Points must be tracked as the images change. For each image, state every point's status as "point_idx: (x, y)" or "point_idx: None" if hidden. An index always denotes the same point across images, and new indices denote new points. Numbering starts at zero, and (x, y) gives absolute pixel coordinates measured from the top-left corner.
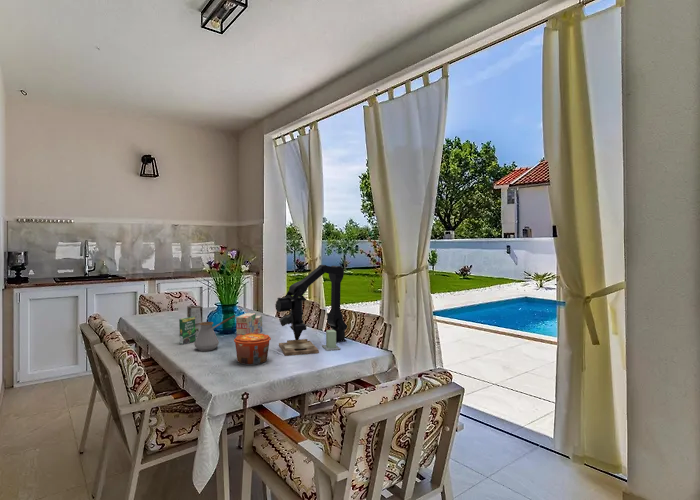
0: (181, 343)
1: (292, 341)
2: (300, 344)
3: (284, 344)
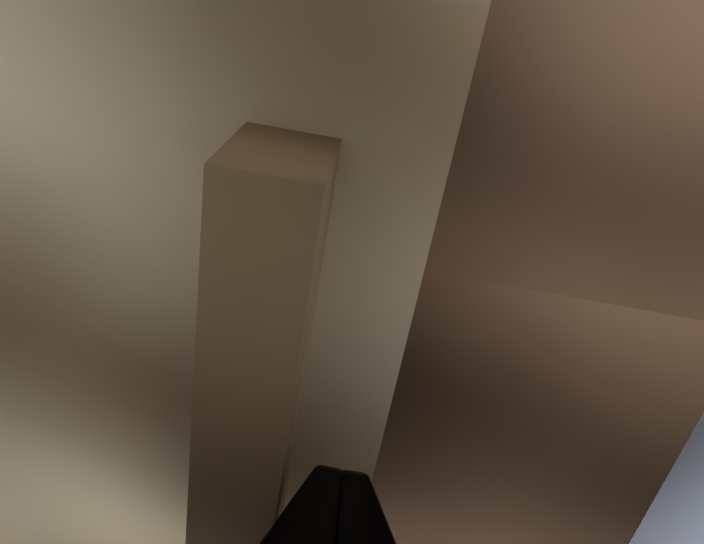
0: None
1: (203, 347)
2: (122, 457)
3: (312, 18)
